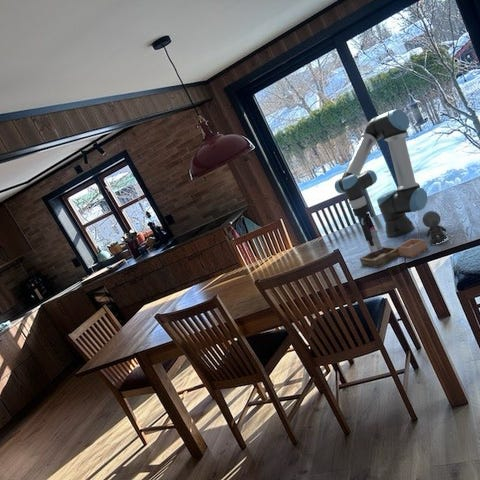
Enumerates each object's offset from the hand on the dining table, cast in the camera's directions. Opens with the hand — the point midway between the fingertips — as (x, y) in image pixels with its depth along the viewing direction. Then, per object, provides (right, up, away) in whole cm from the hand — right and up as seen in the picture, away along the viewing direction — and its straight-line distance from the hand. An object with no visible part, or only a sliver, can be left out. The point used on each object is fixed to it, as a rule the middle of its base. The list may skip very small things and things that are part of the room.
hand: (376, 248), depth 217 cm
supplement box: (0, -1, 0) cm, 1 cm away
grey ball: (+15, -1, -9) cm, 17 cm away
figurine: (+27, +4, -9) cm, 29 cm away
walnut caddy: (+3, -6, +1) cm, 6 cm away
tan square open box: (+15, -2, -9) cm, 18 cm away
